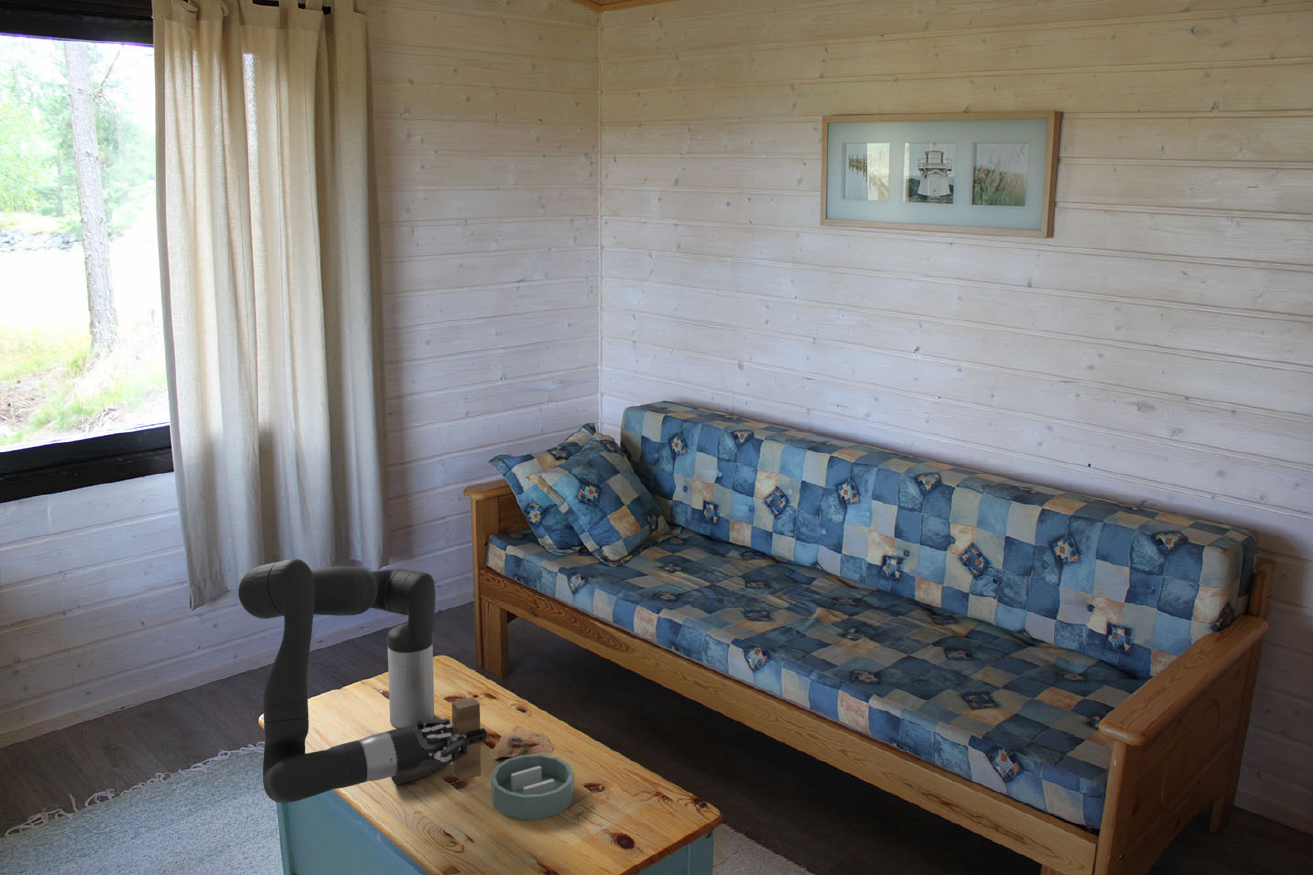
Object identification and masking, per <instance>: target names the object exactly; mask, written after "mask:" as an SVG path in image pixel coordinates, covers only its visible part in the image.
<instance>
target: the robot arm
mask: <svg viewBox="0 0 1313 875" xmlns="http://www.w3.org/2000/svg"><path fill="white" fill-rule="evenodd" d="M237 592H238V593H237V594H238V600H239V602H240V604H241V606H242V608H243V609H244V610H245V611H246V612H247V613H248V614H249V615H251V616H253V617H255V618H258V619H262V620H263V619H265V620H266V619H267V620H268V619H274V618H275V619H276V618H279V617H283V619H284V620H283V621H284V628H283V634H282V641H281V643H280V647H279V650H278V652H277V655H276V656H275V659H274V662H273V664H272V666H271V668H270V671H269V673H268V676H267V678H266V681H265V685H264V690H263V695H262V705H263V710H262V711H263V730H264V749H263V762H262V784H263V785H262V786H263V789H264V792H265V794H266V795H267V797H268V798H269V799H270V800H271V801H273V802H275V803H278V804H289V803H295V802H298V801H302V800H305V799H308V798H311V797H315V796H317V795H320V794H323V793H326V792H330V791H332V790H337V789H344V788H348V787H352V786H356V785H360V784H364V783H367V782H373V781H380V780H384V779H387V778H391V777H392V776H395V775H399V774H402V773H406V772H410V771H414V770H416V769H418V768H419V766H420V764H421V762H422V761H425V760H434V759H438V760H440V761H441V766H443V767H447V766H449V765H450V764H452V763H453V762H454V761H455V760H457V759H459V758H460V757H462V756H464V755H465V754H467V753H468V752H467V746H468V745H471V744H475V743H479V742H480V743H481V742H485V741H487V729H486V728H484V727H480V729H478V730H474V731H470V732H466V733H461V734H455V735H453V729H452V722H451V720H450V719H449V718H445V719H444V718H442V719H435V692H434V691H435V690H434V687H435V686H434V655H433V652H434V651H433V650H434V648H433V635H434V631H435V630H434V629H435V622H436V621H435V620H436V616H435V615H436V613H435V612H436V585H435V580H434V578H433V576H432V575H431V574H430V573H427V572H423V571H420V570H419V571H417V570H412V569H404V568H390V569H381V570H375V571H374V570H373V571H370V570H368V569H366V568H363V567H357V566H342V565H339V566H329V567H321V568H316V569H311V568H310V566H309V565H308V564H307V563H306V562H305V561H303V560H302V559H299V558H292V559H285V560H281V561H276V562H275V561H274V562H271V563H266V564H262V565H259V566H256V567H253V568H252V569H250V570H248V571H247V573H245V574H244V575H243V577H242V578H241V579H240V582H239V585H238V591H237ZM370 609H374V610H379V611H385V612H388V613H392V614H398V615H401V616H402V615H403V616H407V618H408V619H407V620H408V621H407V622H406V623H404V624H399V625H397V626H395V627H393V628H392V629H390V630H389V631H388V633H387V640H386V641H387V642H386V643H387V660H388V662H387V664H388V696H389V697H388V698H389V699H388V700H389V721H390V724H391V725H392V726H393V727H395V728H394V729H391V730H387V731H383V732H378V733H374V734H370V735H368V736H365V737H363V738H361V739H358V740H357V739H356V740H352V741H349V742H345V743H342V744H337V745H334V746H332V747H329V748H327V749H322V750H319V751H318V750H317V751H312V752H308V753H306V740H307V739H306V738H307V736H308V734H309V728H310V727H309V726H310V722H309V721H310V719H309V702H308V701H309V700H308V699H309V698H308V671H309V670H308V669H309V657H310V651H311V643H312V642H311V641H312V633H313V623H314V622H313V621H314V616H315V615H316V616H336V617H338V616H339V617H343V616H344V617H345V616H346V617H347V616H349V617H350V616H357V615H361V614H364V613H365V612H367V611H368V610H370ZM455 740H459V741H457V742H455V743H454V741H455ZM447 741H448V745H449V746H448V747H447Z"/></svg>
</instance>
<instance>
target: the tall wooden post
mask: <svg viewBox="0 0 1313 875" xmlns="http://www.w3.org/2000/svg"><path fill="white" fill-rule="evenodd" d="M480 706H481V704H480V702H479V701H478V700H477V699H476V698H475V697H474V696H470V697H466V698H463V699H459V700H454V701H451V716H452V717H451V720H452V721H451V723H452V729H453V735H455V734H461V733H466V732H470V731H474V730H478V729H481V707H480ZM457 741H459V740H455V741H454V743H455V742H457ZM467 752H468V753H467V754H465V755H464V756H462V757H460V758H459V759H457V760H455V761H454V762H452V763H453V764H452V767H453V775H454V776H455V777H456V779H457V780H458V781H459V782H463V781H466V780H469V779H473V778H476V777H480V776H482V767H481V766H482V762H481V761H482V758H481V757H482V756H481V755H482V754H481V753H482V752H481V742H479V743H475V744H471V745H468V746H467Z"/></svg>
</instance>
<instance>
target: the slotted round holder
mask: <svg viewBox="0 0 1313 875" xmlns="http://www.w3.org/2000/svg"><path fill="white" fill-rule="evenodd" d="M574 795H575V773H574V771H573V769H572V767H571V765H570V764H569V763H568V762H566V761H564V760H562V759H561V758H560V757H559V756H558V757H556V756H552V755H548V754H547V755H546V754H542V753H535V754H530V755H521V756H517V757H509V758H507V759H505V760H503V761H502V762H501V763H499V764H498V765H496V766H495V767H494V769H493V771H492V773H491V775H490V799H491V803H492V805H493V807H494V809H495V810H497V811H498V812H500V813H501V814H502V815H504V816H506V817H510V818H514V819H518V820H523V821H524V820H525V821H527V820H543V819H546V818H550V817H552V816H556V815H559V814H560V813H562V812H563V811H564V810H566V809H567V808H568V807H570V806H571V804H572V801H573V799H574Z"/></svg>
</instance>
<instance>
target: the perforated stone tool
mask: <svg viewBox="0 0 1313 875" xmlns="http://www.w3.org/2000/svg"><path fill="white" fill-rule="evenodd" d="M448 746H449V745H448V741H447V747H448ZM443 767H444V766H441V761H440V760H438V759H434V760H425V761H422V762H421V764H420V766H419V768H418V769H416V770H414V771H410V772H406V773H402V774H399V775H395V776H392V777H390V779H391V781H392V782H393V784H395V785H399V784H404V783H410V782H413V781H415V780H418V779H420V778H422V777H425V776H427V775H429V774H432V773H434V772H435V771H439V770H440V769H442V768H443Z"/></svg>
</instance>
